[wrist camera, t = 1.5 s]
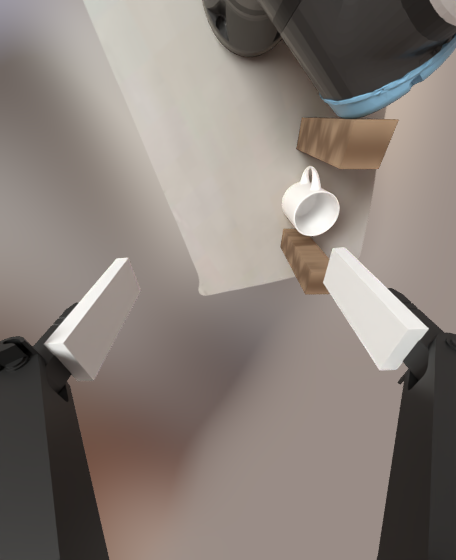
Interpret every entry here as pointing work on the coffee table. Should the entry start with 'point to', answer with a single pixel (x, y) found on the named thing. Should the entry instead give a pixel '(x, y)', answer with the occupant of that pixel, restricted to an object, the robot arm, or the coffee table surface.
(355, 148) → the post near
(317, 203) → the mug
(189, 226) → the coffee table surface
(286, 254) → the post far
